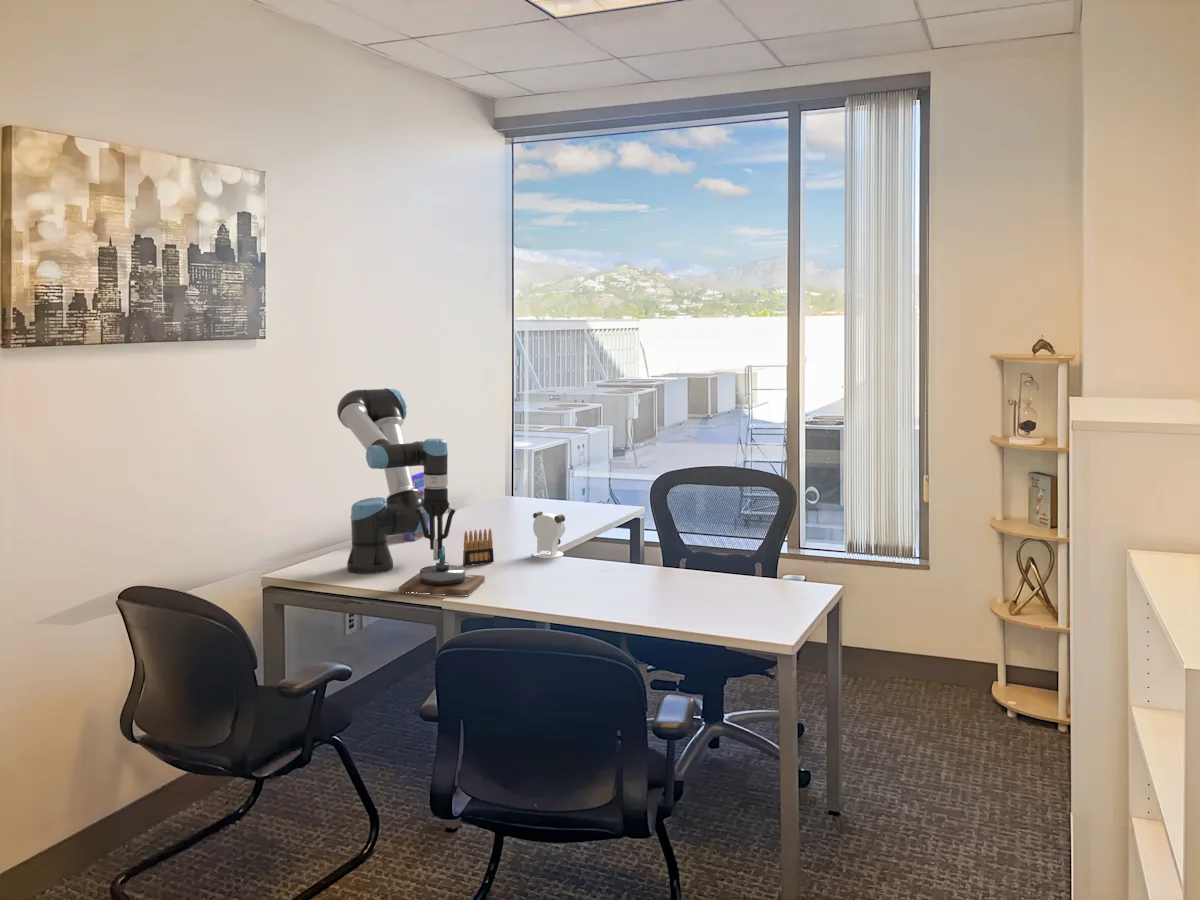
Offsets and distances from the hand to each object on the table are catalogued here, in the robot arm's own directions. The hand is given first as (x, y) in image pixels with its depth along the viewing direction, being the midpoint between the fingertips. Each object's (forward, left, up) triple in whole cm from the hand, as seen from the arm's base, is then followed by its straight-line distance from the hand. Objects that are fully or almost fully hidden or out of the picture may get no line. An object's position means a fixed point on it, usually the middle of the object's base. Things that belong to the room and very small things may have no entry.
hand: (436, 559), depth 324 cm
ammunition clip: (+7, +23, -7) cm, 25 cm away
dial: (+4, -6, -4) cm, 8 cm away
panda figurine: (+28, +40, -7) cm, 50 cm away
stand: (+5, -10, -7) cm, 13 cm away
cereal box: (-29, +63, -7) cm, 70 cm away
